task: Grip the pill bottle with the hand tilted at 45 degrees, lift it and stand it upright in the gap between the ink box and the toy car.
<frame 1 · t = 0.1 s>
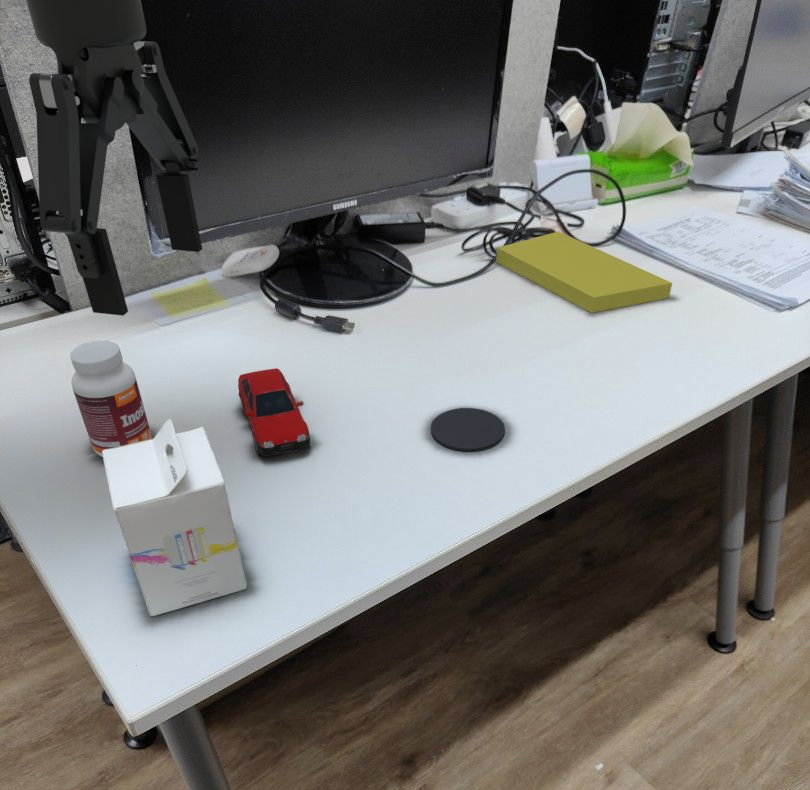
hand: (151, 278, 66), 20 cm above the table, tool pointing down, fingers open, 13 cm apart
toy car: (274, 426, 84), on the table
coaster: (467, 430, 83), on the table
flat mustard tile: (578, 280, 112), on the table
ink box: (191, 573, 67), on the table
pill bottle: (124, 446, 82), on the table
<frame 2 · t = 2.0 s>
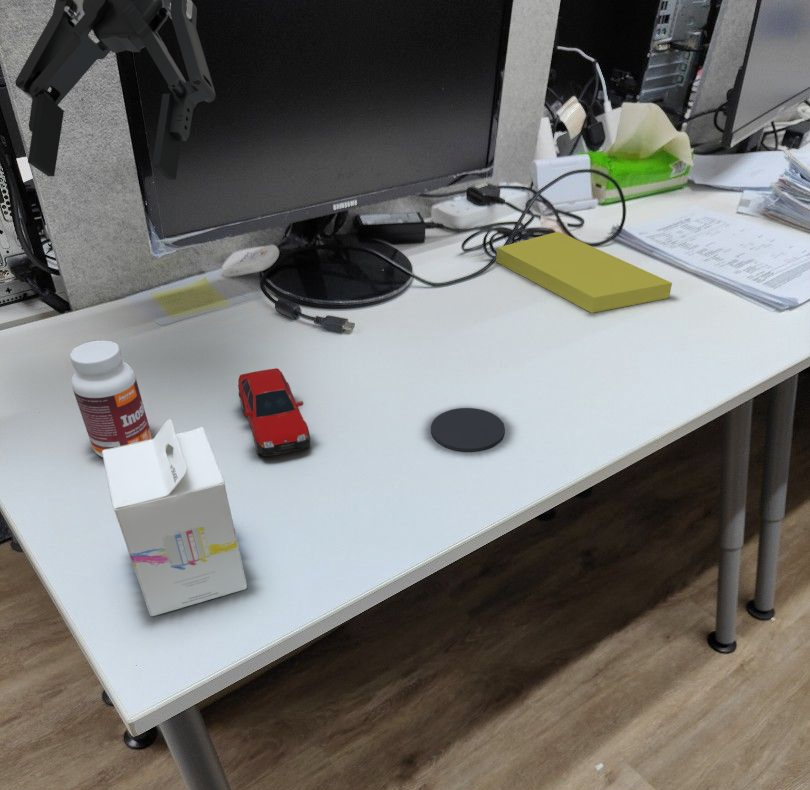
hand: (101, 171, 72), 25 cm above the table, tool tilted 40°, fingers open, 13 cm apart
nothing on the table moved.
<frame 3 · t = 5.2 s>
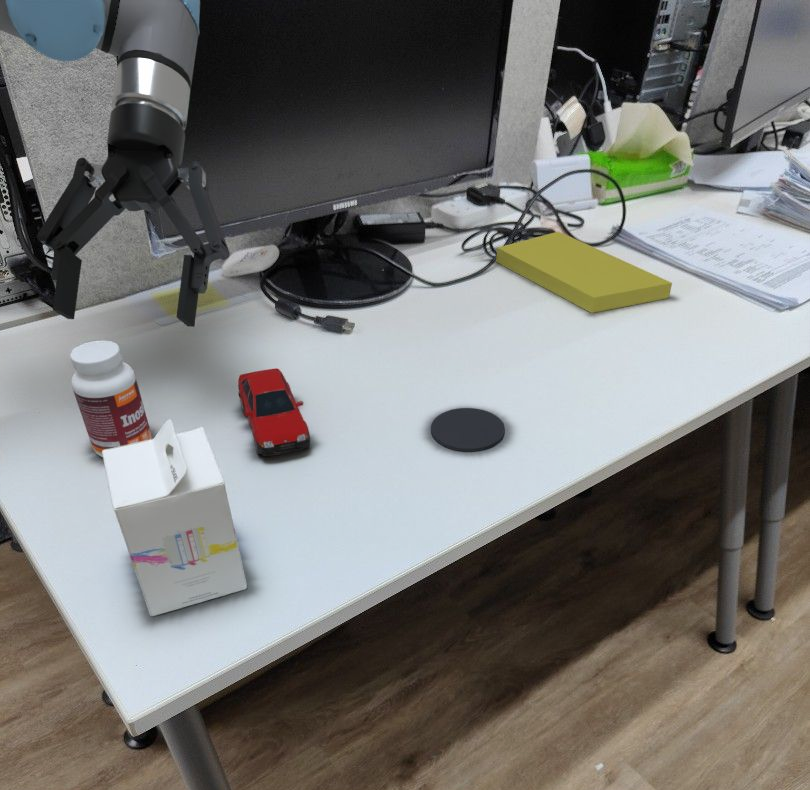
hand: (123, 318, 79), 11 cm above the table, tool tilted 45°, fingers open, 13 cm apart
nothing on the table moved.
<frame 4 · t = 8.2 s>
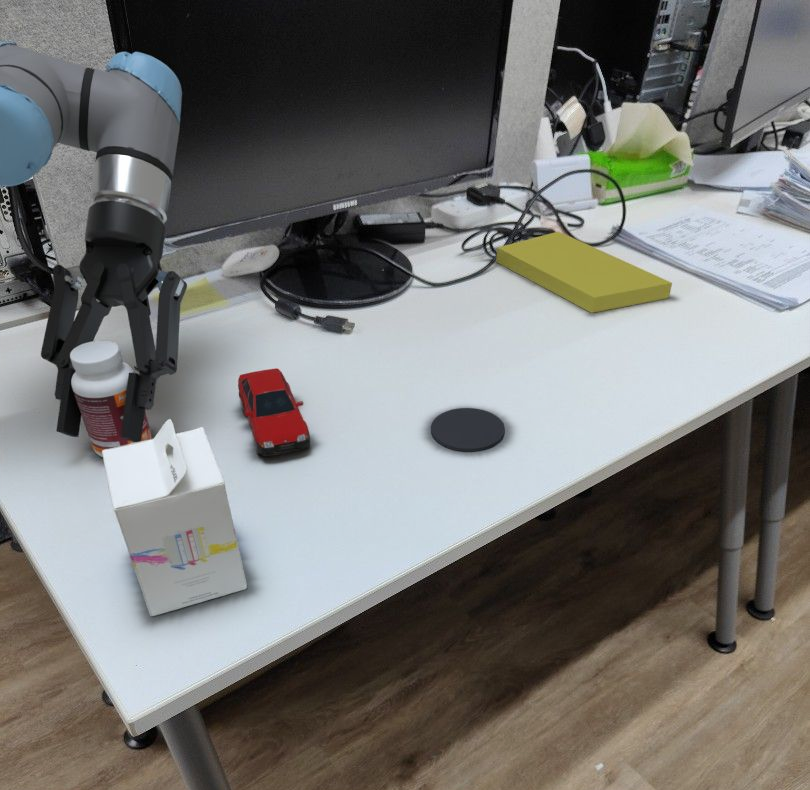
hand: (99, 436, 77), 3 cm above the table, tool tilted 45°, fingers closed on pill bottle, 6 cm apart
pill bottle: (124, 446, 82), on the table, touching gripper
everything else where it was.
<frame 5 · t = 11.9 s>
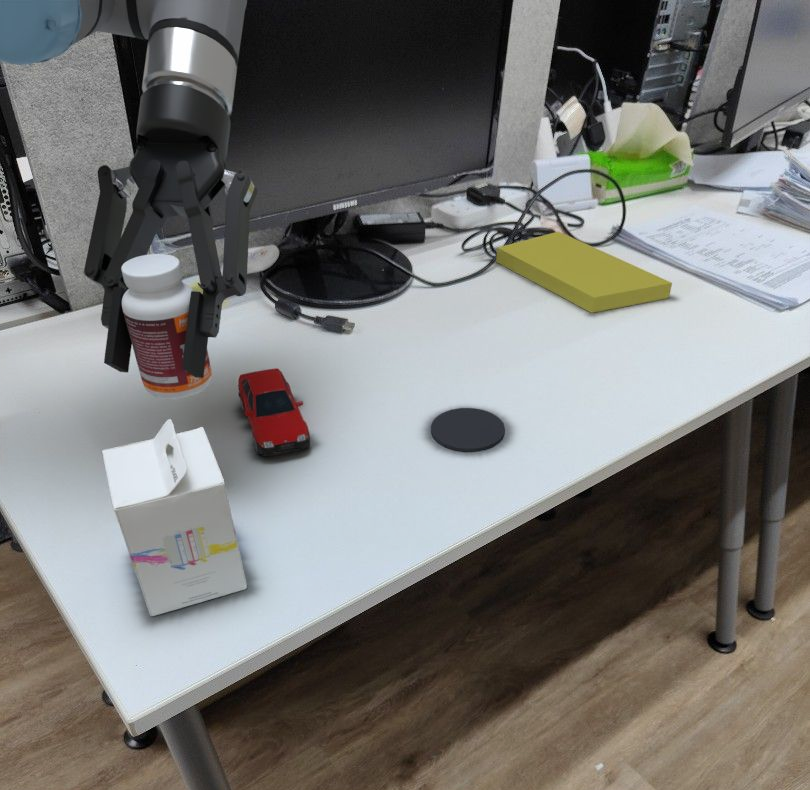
hand: (154, 369, 64), 15 cm above the table, tool tilted 45°, fingers closed on pill bottle, 6 cm apart
pill bottle: (179, 385, 70), point 11 cm above the table, touching gripper
everything else where it was.
when the fingers open (3 cm above the table, at t = 15.8 s): pill bottle stays where it is, on the table.
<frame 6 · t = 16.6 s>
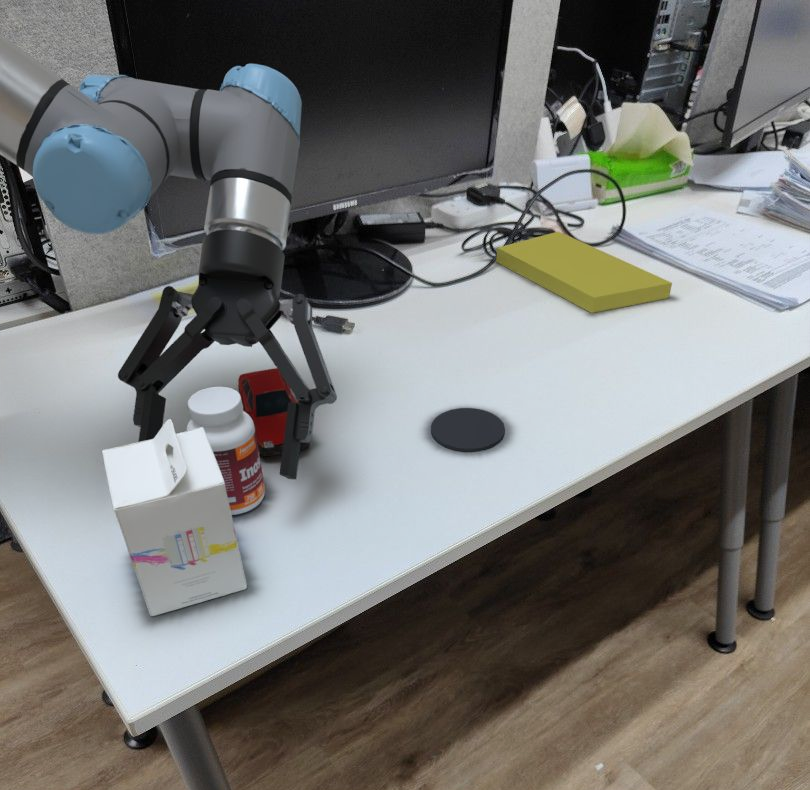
hand: (216, 470, 70), 5 cm above the table, tool tilted 45°, fingers open, 13 cm apart
pill bottle: (234, 499, 75), on the table
everything else where it was.
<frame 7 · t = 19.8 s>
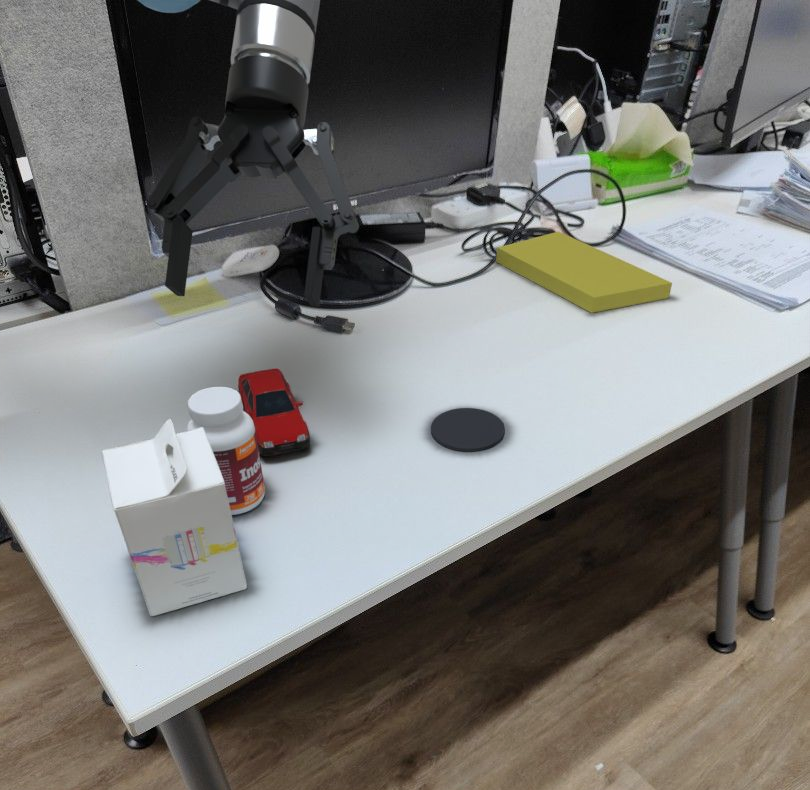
hand: (242, 296, 72), 16 cm above the table, tool tilted 45°, fingers open, 13 cm apart
nothing on the table moved.
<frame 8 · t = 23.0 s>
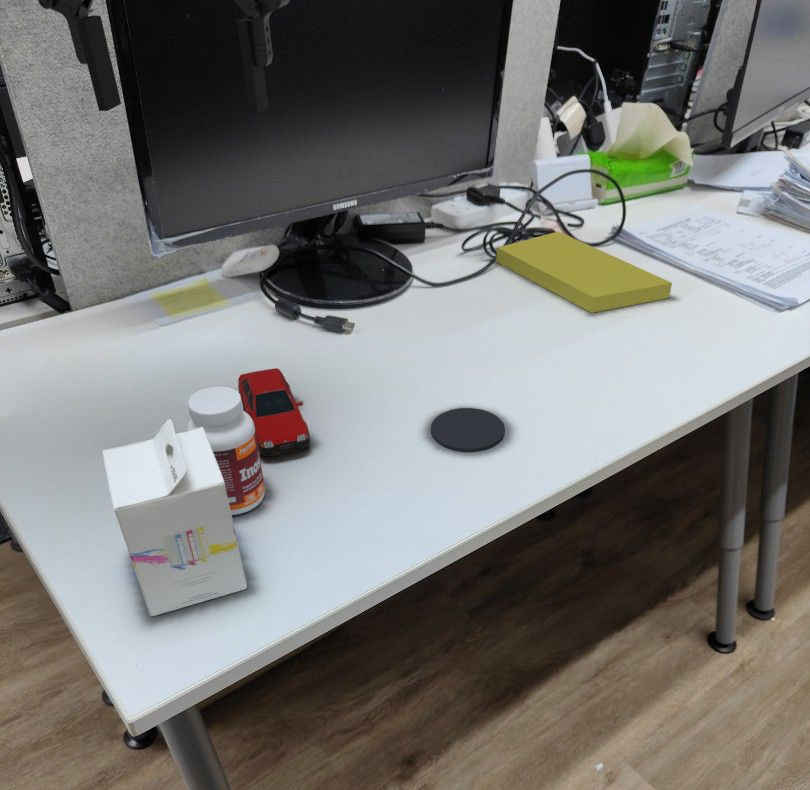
hand: (183, 109, 66), 31 cm above the table, tool pointing down, fingers open, 13 cm apart
nothing on the table moved.
at the end: pill bottle 10.7 cm from the ink box (horizontally); pill bottle 13.0 cm from the toy car (horizontally); pill bottle tilted 0° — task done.
